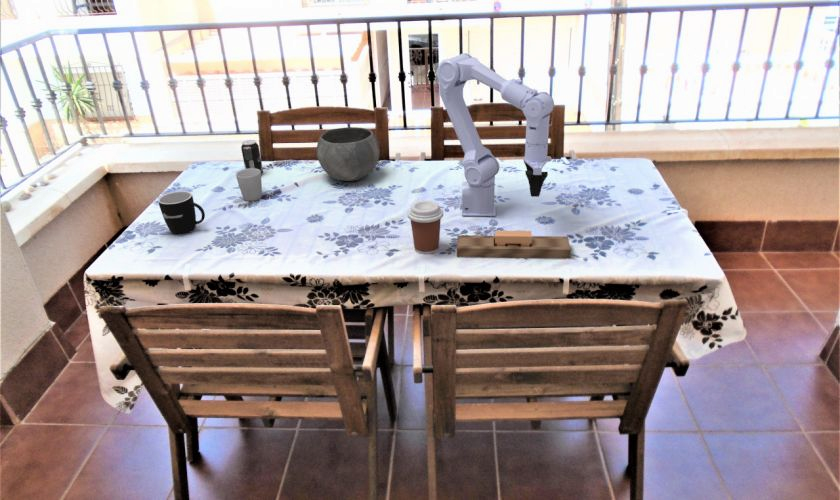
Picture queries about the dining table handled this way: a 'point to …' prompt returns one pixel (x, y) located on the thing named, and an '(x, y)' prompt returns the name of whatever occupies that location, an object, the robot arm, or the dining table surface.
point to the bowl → (348, 153)
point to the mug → (180, 211)
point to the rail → (513, 247)
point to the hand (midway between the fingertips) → (533, 190)
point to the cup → (250, 183)
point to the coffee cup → (425, 226)
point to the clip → (513, 238)
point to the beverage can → (251, 155)
